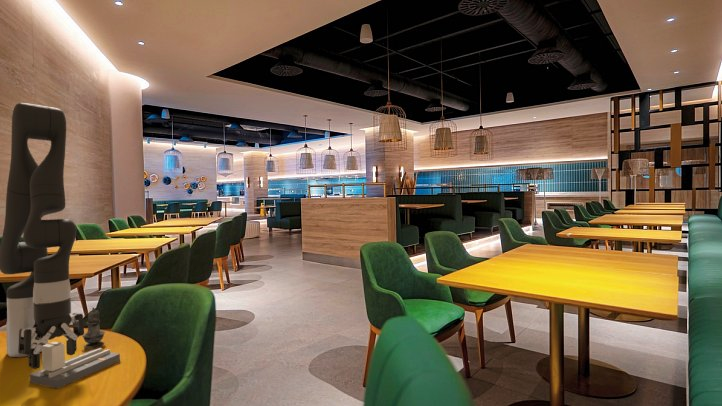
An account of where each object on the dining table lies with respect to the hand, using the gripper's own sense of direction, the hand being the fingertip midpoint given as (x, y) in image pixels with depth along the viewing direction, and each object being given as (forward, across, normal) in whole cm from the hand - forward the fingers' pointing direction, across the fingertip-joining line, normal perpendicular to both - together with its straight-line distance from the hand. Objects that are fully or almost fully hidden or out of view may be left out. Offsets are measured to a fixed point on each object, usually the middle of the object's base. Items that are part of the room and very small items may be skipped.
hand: (53, 361), depth 101 cm
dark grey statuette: (+5, -20, -13) cm, 25 cm away
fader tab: (+3, 0, 0) cm, 3 cm away
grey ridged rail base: (+5, -6, 0) cm, 8 cm away
